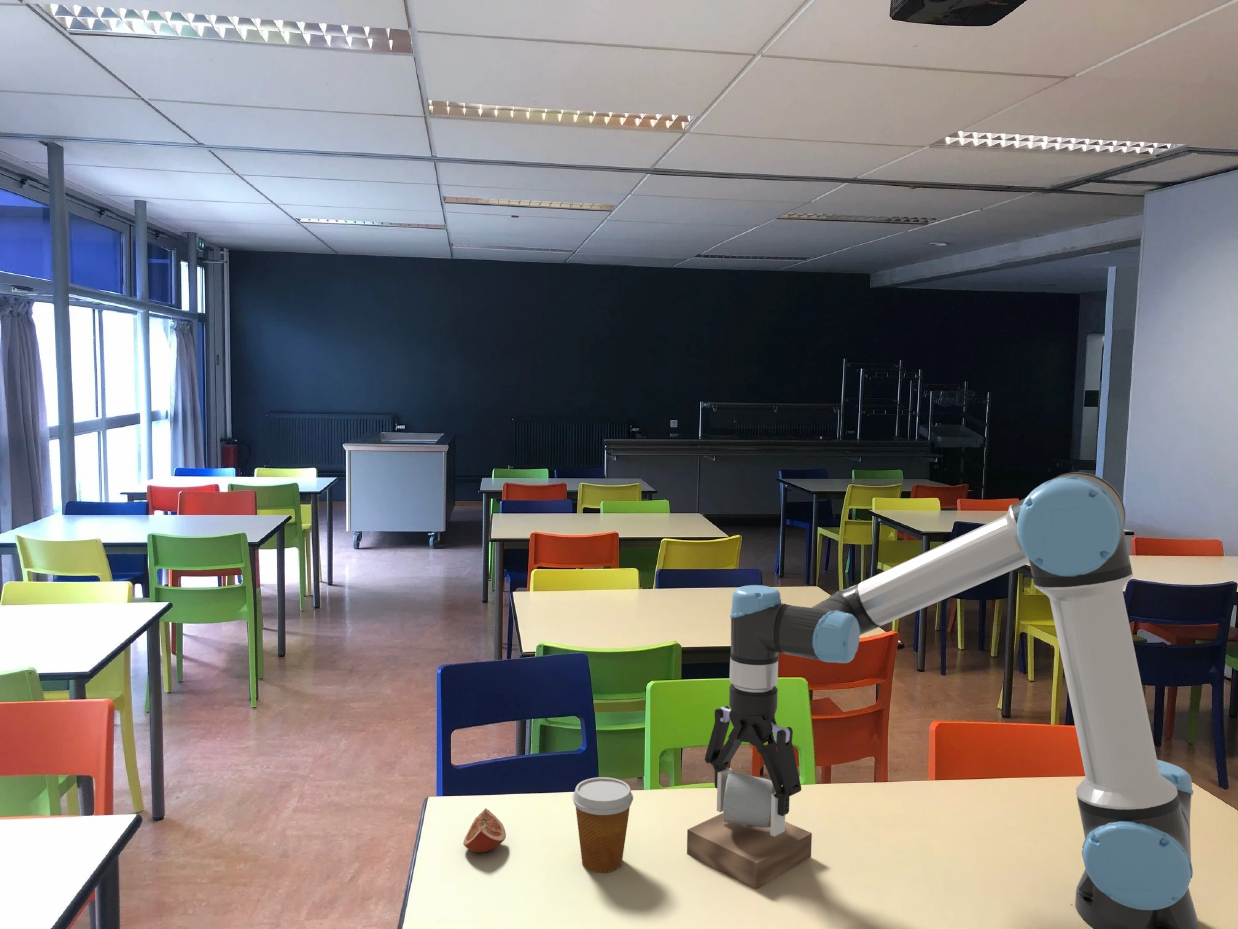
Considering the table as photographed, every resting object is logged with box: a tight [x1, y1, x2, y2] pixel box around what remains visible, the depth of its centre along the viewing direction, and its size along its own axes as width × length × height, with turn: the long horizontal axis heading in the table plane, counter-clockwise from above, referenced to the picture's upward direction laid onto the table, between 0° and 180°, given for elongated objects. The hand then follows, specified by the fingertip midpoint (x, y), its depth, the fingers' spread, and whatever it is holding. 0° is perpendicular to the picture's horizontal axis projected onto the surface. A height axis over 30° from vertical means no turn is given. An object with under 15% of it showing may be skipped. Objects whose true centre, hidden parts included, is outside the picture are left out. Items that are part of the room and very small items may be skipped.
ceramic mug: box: [722, 771, 775, 827], centre depth 148 cm, size 11×8×8 cm
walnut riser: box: [686, 812, 813, 890], centre depth 148 cm, size 14×14×4 cm
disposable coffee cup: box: [571, 776, 634, 874], centre depth 144 cm, size 10×10×12 cm
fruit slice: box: [463, 808, 507, 853], centre depth 149 cm, size 8×7×5 cm
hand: (750, 820), depth 147 cm, fingers closed on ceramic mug, 10 cm apart
